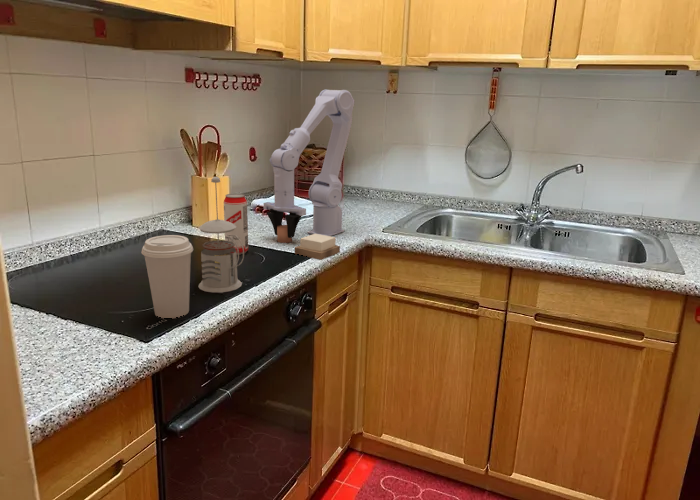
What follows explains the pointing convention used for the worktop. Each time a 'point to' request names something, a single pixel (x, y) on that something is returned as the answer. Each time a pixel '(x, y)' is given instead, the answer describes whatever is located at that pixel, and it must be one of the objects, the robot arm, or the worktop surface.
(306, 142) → the robot arm
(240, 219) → the beer can
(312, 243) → the cream slab
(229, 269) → the french press
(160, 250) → the coffee cup
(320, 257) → the walnut base slab
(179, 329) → the worktop surface
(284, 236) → the terracotta cylinder
